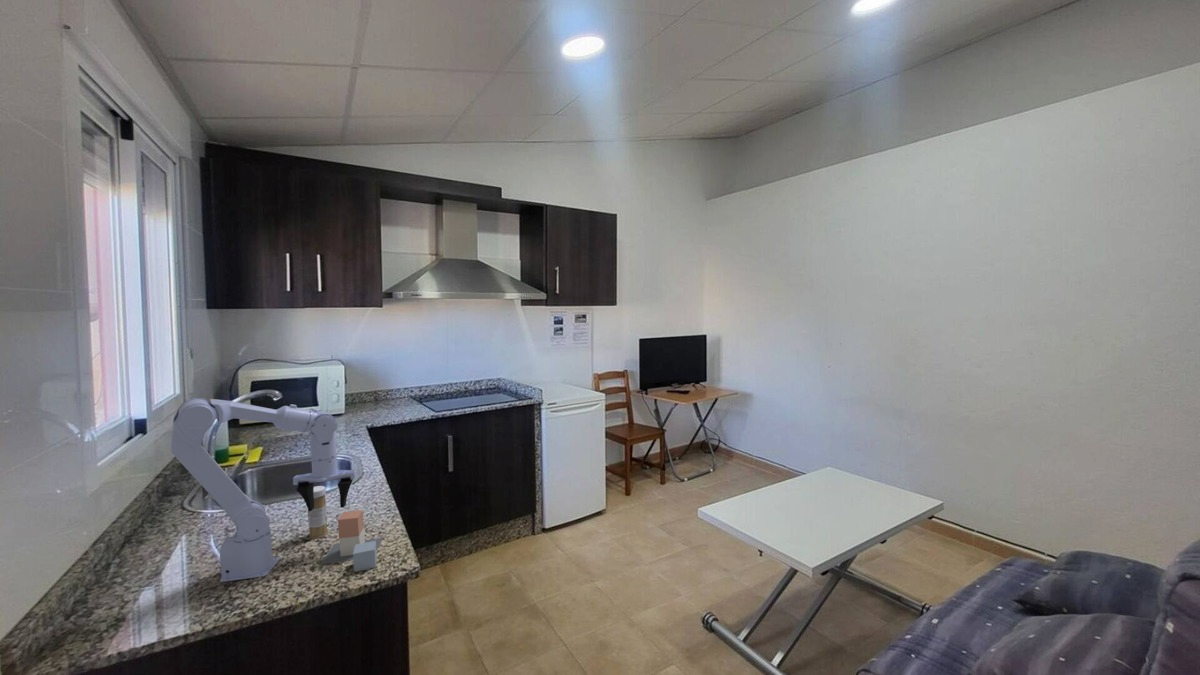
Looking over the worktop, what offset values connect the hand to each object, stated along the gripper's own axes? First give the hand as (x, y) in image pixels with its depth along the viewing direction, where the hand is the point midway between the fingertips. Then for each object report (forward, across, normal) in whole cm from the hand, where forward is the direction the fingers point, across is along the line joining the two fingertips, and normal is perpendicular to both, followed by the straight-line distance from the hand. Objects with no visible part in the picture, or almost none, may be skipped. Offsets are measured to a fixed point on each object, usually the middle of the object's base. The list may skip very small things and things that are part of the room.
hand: (327, 507), depth 122 cm
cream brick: (+10, +7, -5) cm, 13 cm away
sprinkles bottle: (+11, -5, +7) cm, 14 cm away
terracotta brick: (+5, +7, -5) cm, 10 cm away
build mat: (+10, +7, -5) cm, 13 cm away
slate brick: (+10, +12, -13) cm, 21 cm away
